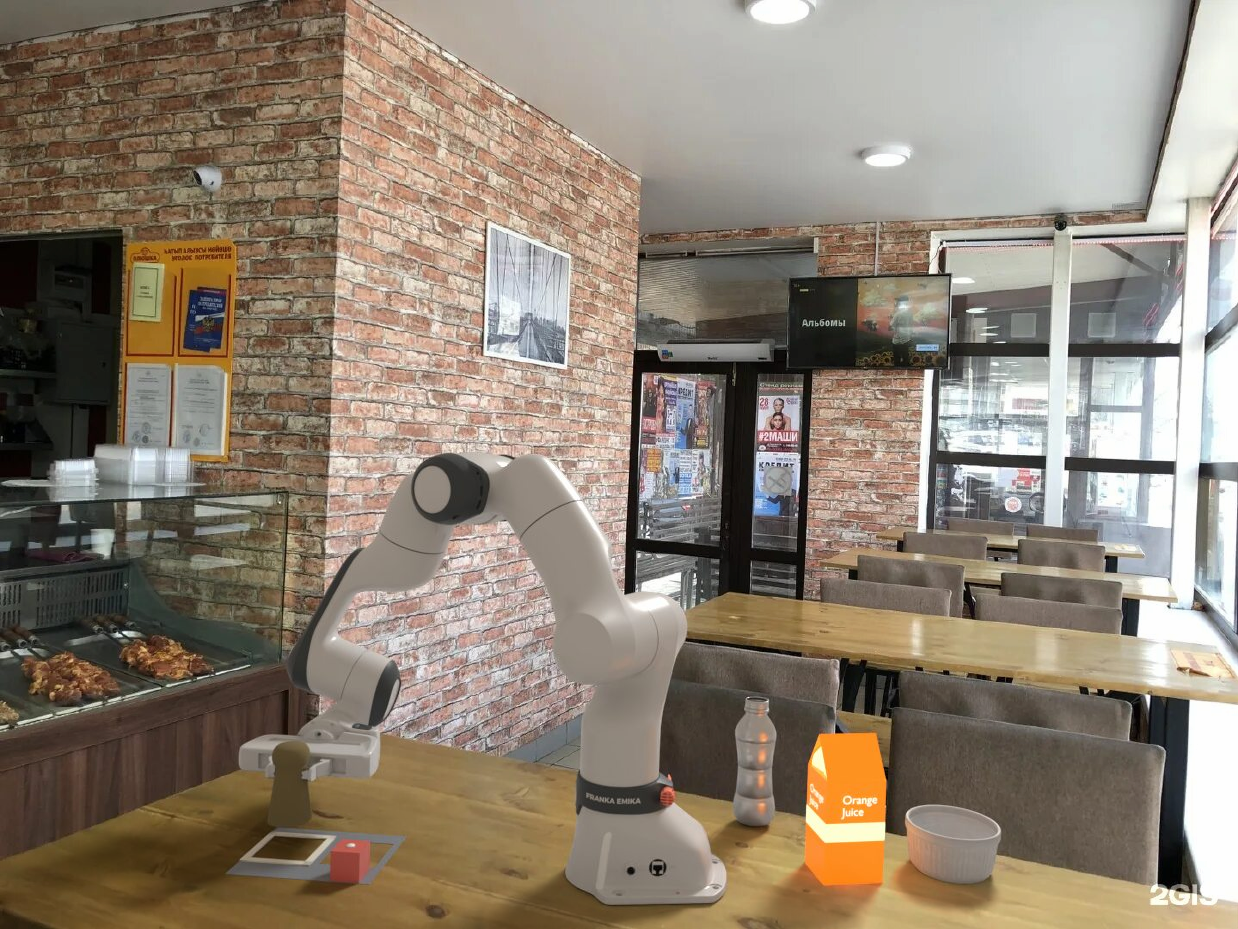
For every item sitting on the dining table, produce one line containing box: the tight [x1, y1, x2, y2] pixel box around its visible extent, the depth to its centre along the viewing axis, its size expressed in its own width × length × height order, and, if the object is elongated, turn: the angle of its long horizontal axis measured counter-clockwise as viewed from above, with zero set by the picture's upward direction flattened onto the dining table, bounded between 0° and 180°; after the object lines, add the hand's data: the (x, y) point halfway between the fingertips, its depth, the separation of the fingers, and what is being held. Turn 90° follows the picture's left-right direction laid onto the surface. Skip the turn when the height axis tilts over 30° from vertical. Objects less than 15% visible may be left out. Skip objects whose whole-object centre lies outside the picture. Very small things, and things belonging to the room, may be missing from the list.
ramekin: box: [904, 804, 1002, 885], centre depth 142 cm, size 13×13×7 cm
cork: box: [266, 741, 312, 828], centre depth 140 cm, size 6×6×11 cm
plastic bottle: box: [732, 696, 777, 827], centre depth 157 cm, size 6×7×20 cm
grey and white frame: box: [224, 827, 407, 886], centre depth 139 cm, size 20×16×1 cm
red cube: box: [329, 839, 371, 883], centre depth 132 cm, size 4×4×4 cm
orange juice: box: [804, 732, 887, 886], centre depth 140 cm, size 8×9×20 cm
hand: (288, 774), depth 139 cm, fingers closed on cork, 4 cm apart
